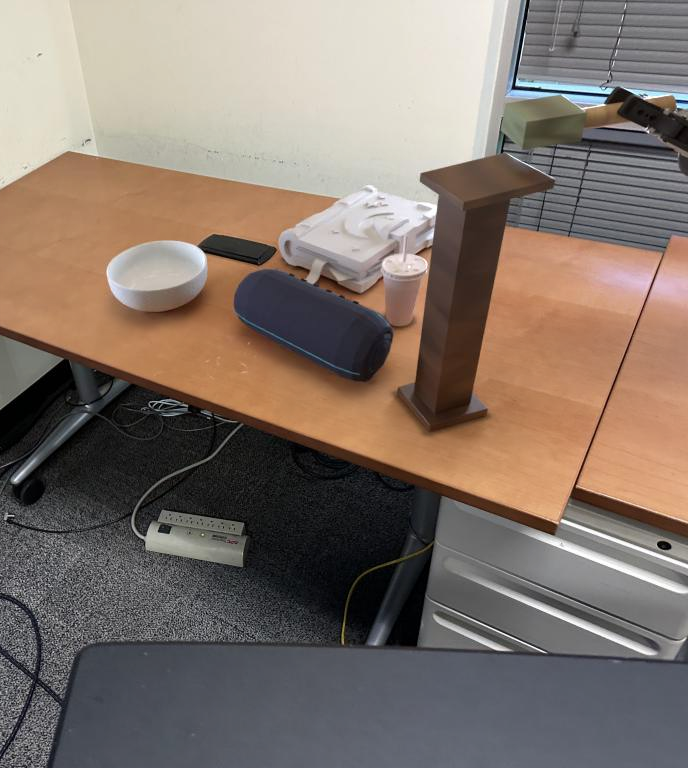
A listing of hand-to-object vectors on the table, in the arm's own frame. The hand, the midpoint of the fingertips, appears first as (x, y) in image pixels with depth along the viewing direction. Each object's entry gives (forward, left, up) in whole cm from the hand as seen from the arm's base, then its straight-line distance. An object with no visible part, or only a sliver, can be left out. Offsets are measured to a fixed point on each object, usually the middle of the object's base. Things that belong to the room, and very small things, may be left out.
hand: (618, 100), depth 72 cm
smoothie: (+20, -7, -35) cm, 40 cm away
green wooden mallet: (+2, +1, -3) cm, 4 cm away
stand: (+13, +11, -34) cm, 38 cm away
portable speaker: (+32, +3, -35) cm, 47 cm away
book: (+29, -25, -35) cm, 51 cm away
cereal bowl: (+59, -8, -35) cm, 69 cm away
